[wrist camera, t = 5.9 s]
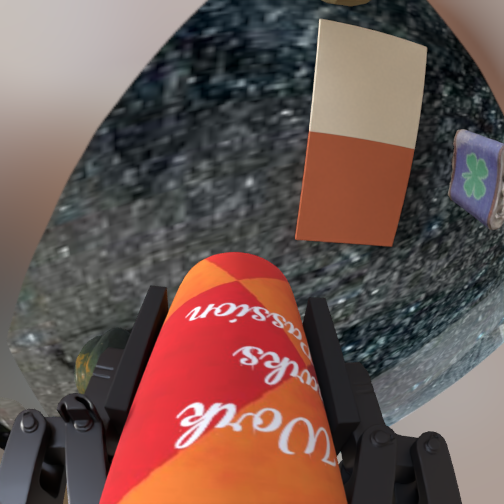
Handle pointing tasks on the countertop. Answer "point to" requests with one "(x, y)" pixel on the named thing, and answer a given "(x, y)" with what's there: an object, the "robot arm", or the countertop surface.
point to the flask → (478, 177)
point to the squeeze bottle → (347, 2)
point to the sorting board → (360, 135)
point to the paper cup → (228, 399)
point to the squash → (96, 354)
